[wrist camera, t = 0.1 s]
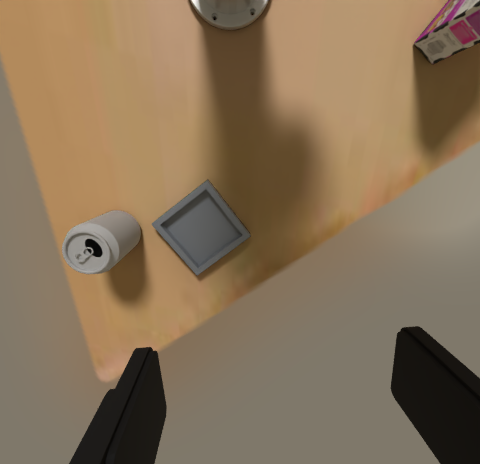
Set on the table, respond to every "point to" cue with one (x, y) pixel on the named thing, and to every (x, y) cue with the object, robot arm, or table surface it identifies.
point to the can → (101, 242)
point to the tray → (201, 228)
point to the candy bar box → (451, 30)
